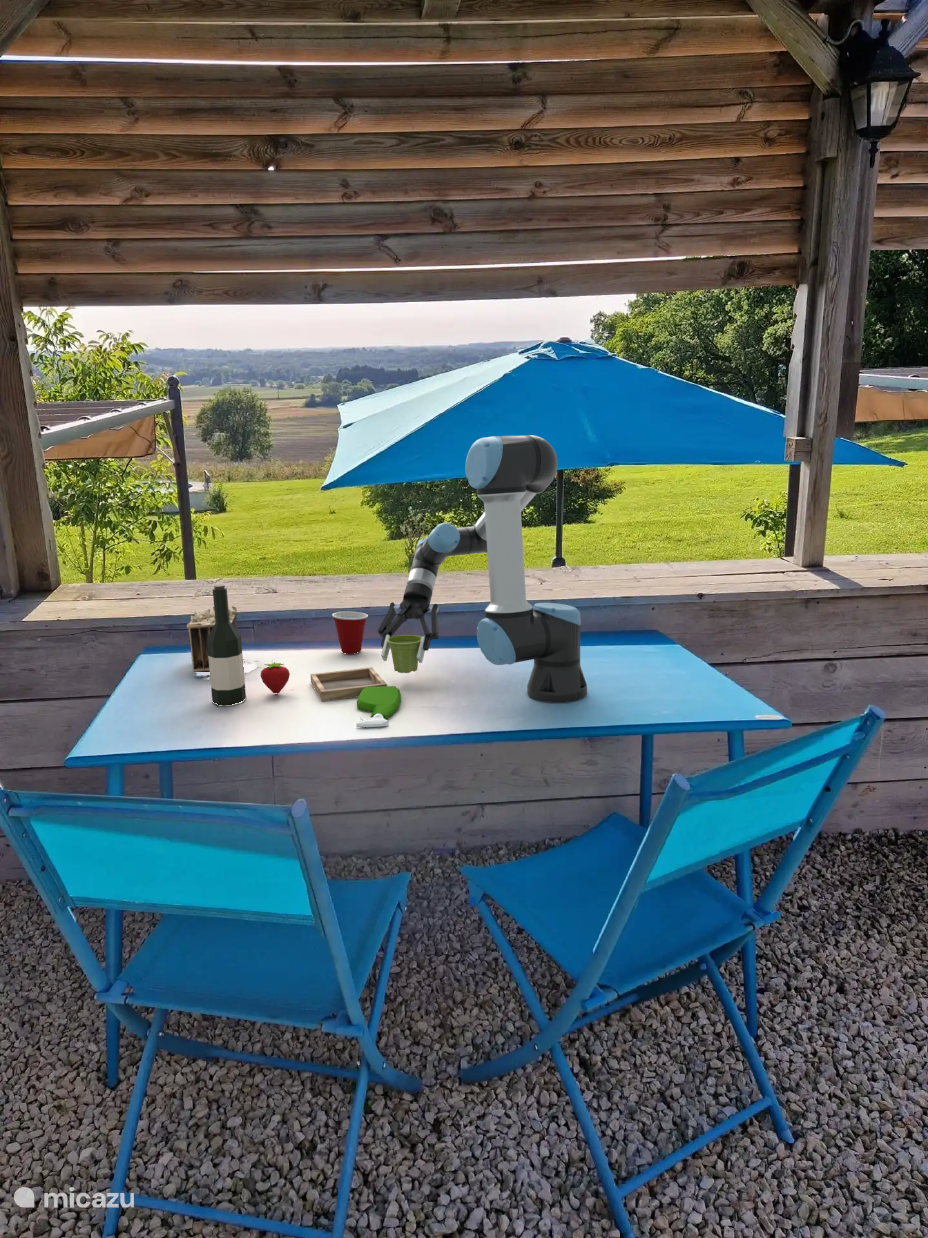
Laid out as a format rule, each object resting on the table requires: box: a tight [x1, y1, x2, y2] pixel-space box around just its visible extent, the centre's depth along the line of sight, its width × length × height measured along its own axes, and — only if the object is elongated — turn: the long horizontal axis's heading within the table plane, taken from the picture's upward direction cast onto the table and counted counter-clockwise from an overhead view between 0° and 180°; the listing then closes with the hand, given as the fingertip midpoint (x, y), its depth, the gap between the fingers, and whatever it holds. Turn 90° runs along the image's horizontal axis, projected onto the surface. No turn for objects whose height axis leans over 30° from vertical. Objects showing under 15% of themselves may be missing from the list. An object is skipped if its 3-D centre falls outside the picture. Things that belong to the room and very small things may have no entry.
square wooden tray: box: [310, 666, 388, 702], centre depth 235 cm, size 17×17×2 cm
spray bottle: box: [355, 685, 402, 728], centre depth 216 cm, size 3×11×24 cm
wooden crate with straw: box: [186, 605, 239, 673], centre depth 255 cm, size 25×25×19 cm
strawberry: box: [260, 661, 291, 694], centre depth 230 cm, size 6×8×10 cm
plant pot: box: [387, 634, 422, 674], centre depth 236 cm, size 9×9×9 cm
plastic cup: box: [331, 611, 369, 655], centre depth 269 cm, size 11×11×12 cm
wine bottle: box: [207, 584, 247, 705], centre depth 223 cm, size 8×8×30 cm
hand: (401, 659), depth 233 cm, fingers closed on plant pot, 9 cm apart
